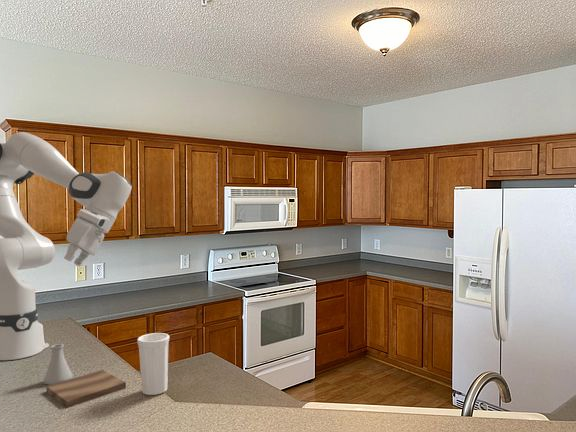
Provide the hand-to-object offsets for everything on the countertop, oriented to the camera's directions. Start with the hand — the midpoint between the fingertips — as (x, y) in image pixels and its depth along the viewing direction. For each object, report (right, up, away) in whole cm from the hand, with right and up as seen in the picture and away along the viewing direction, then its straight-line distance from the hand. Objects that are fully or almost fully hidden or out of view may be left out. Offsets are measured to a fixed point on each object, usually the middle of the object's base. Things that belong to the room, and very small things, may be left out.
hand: (72, 262), depth 130 cm
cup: (+28, -32, -14) cm, 45 cm away
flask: (-1, -33, -5) cm, 33 cm away
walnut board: (+10, -33, -12) cm, 36 cm away
